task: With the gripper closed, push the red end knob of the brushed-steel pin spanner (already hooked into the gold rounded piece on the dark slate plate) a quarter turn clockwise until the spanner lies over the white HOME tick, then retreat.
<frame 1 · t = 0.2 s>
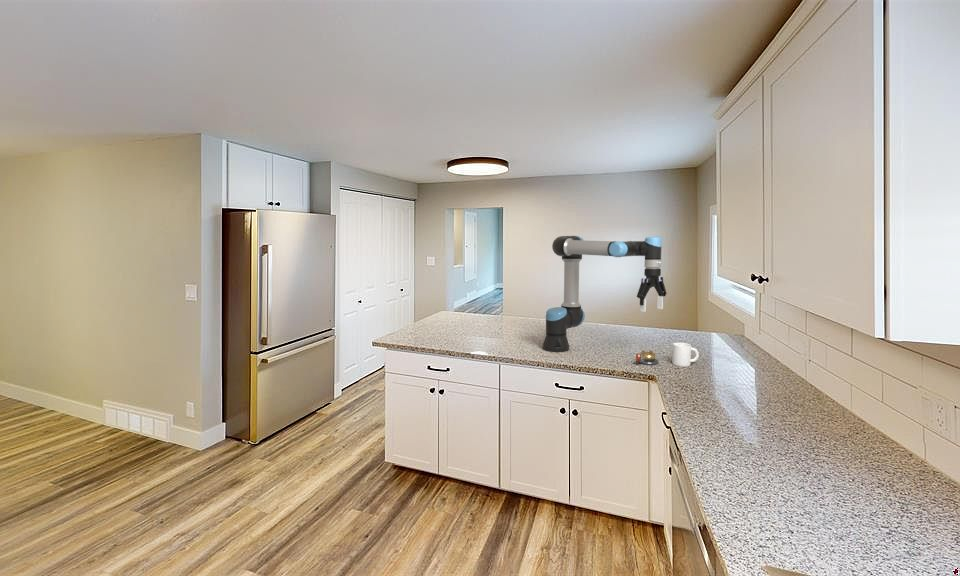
hand: (651, 310, 210), 27 cm above the worktop, fingers open, 13 cm apart
mug: (685, 365, 208), on the worktop
base plate: (647, 362, 213), on the worktop
gold rounded piece: (644, 356, 212), point 3 cm above the worktop, hinge at 90.0°
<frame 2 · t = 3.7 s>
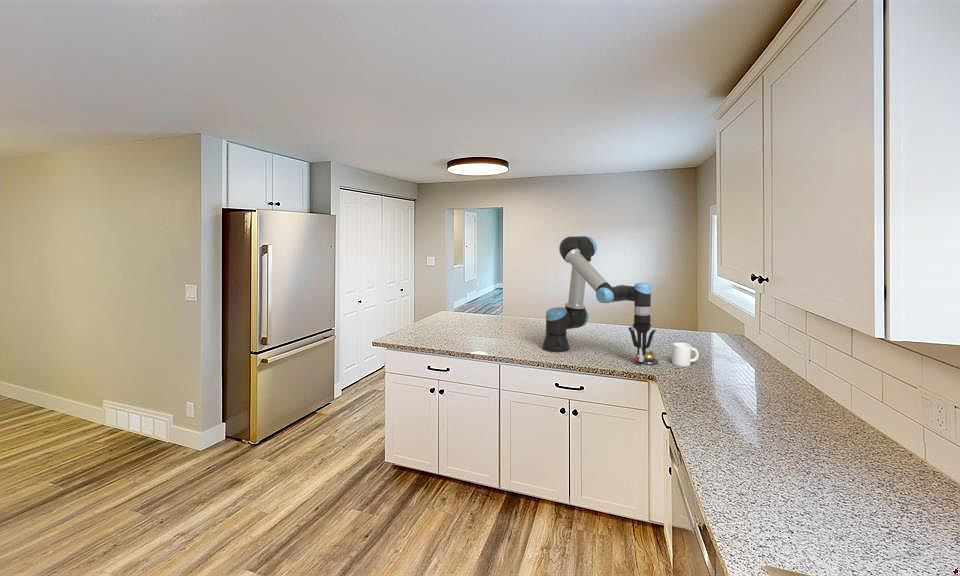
hand: (641, 360, 208), 2 cm above the worktop, fingers closed
gold rounded piece: (644, 356, 212), point 4 cm above the worktop, hinge at 87.5°, touching gripper
everything else where it was.
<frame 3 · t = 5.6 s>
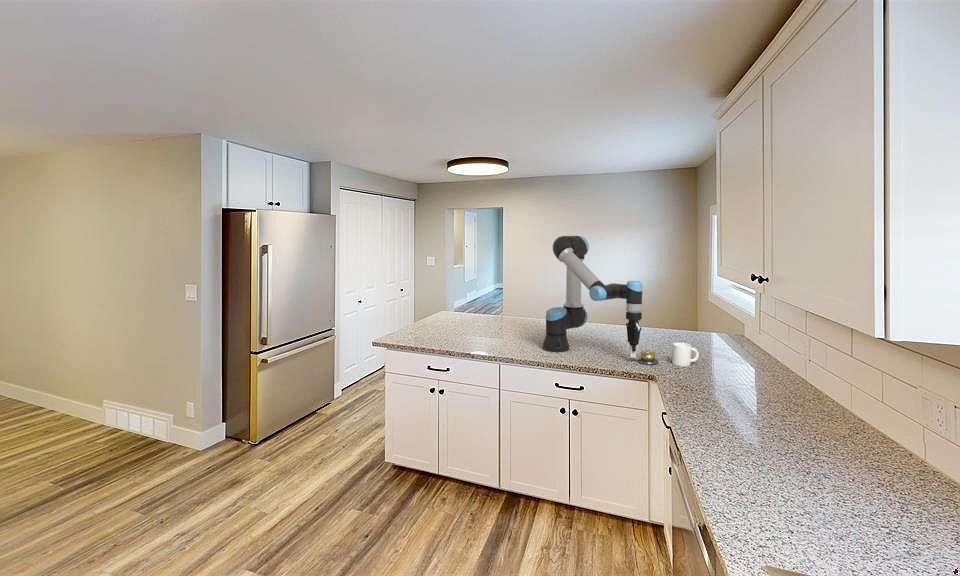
hand: (632, 357, 213), 3 cm above the worktop, fingers closed
gold rounded piece: (642, 355, 214), point 4 cm above the worktop, hinge at 41.9°, touching gripper
everything else where it was.
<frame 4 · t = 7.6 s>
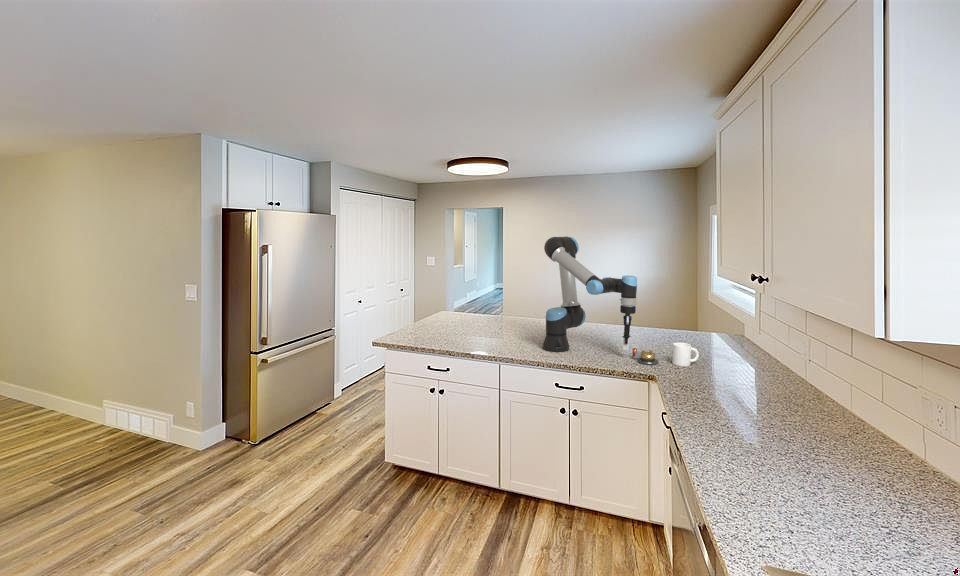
hand: (625, 349, 221), 5 cm above the worktop, fingers closed
gold rounded piece: (643, 354, 215), point 3 cm above the worktop, hinge at 4.7°
everything else where it was.
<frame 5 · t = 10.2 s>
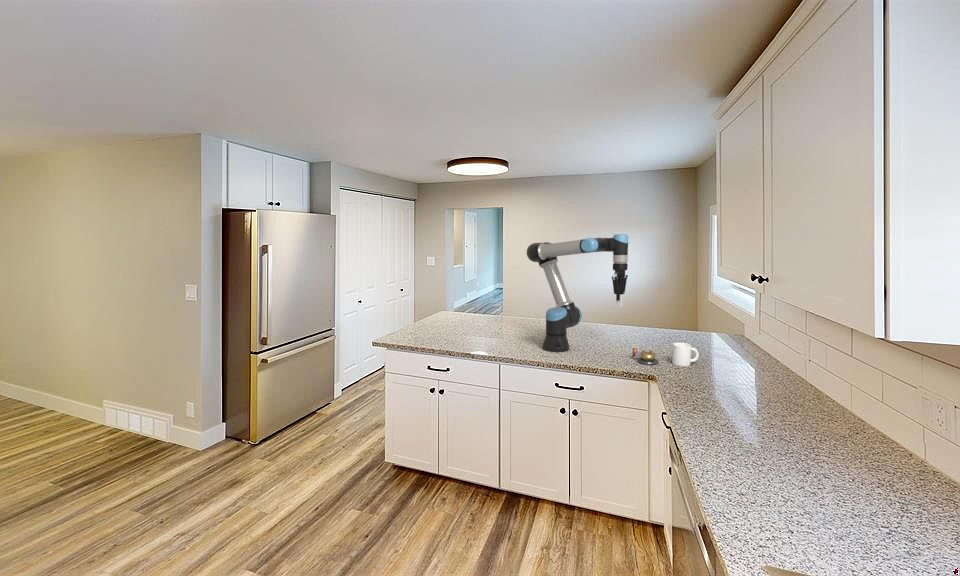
hand: (619, 306, 227), 26 cm above the worktop, fingers closed
nothing on the worktop moved.
at the end: gold rounded piece at +5° (first picture: +90°) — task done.
